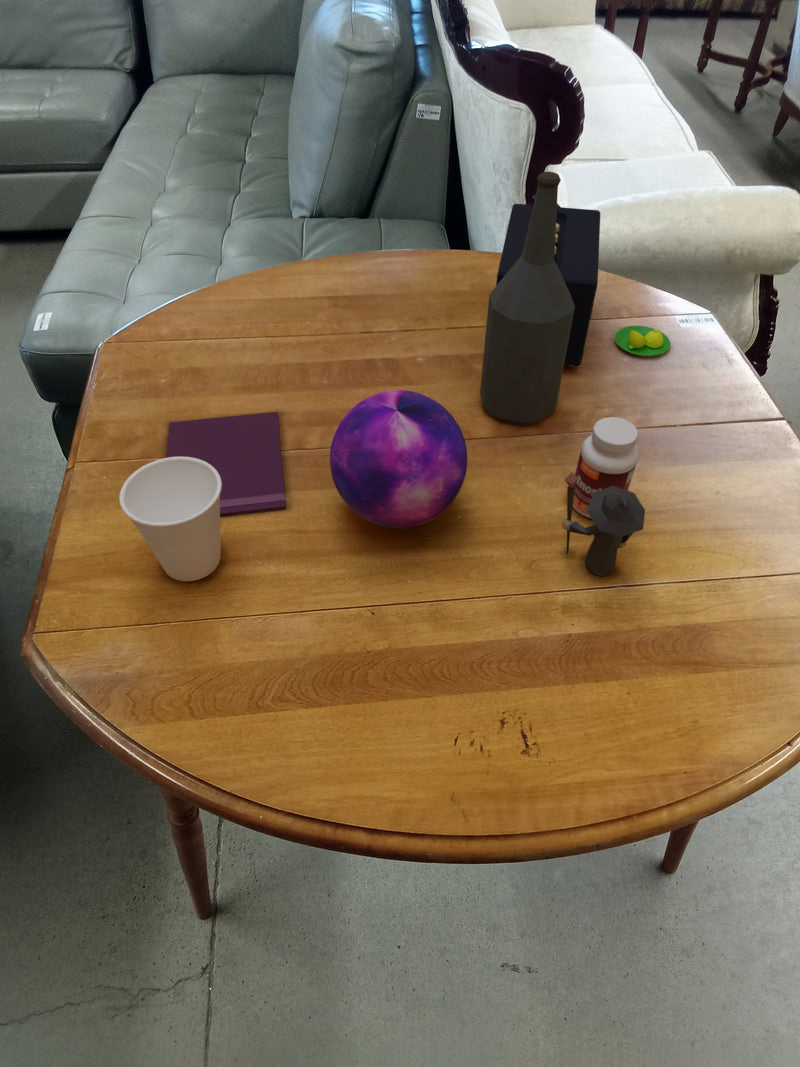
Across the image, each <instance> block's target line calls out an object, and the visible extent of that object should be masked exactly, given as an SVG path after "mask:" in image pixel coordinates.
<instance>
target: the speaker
mask: <svg viewBox="0 0 800 1067" xmlns="http://www.w3.org/2000/svg"><path fill="white" fill-rule="evenodd" d="M533 205H534V204H526V203H525V204H524V203H514V204H513V205H511V206H512V207H511V211H510V215H509V221H508V225H507V229H506V234H505V238H504V243H503V247H502V252H501V256H500V261H499V265H498V269H497V273H496V282H495V286H496V285H497V284H498V283H499V282H500V281H501V280H502V278H503V277H504V276H505V275H506V274H507V272H508V271H509V270H510V269H511V268H512V266H513V265H514V264H515V263H516V262H517V260H518V259H519V258H520V257H521V256H522V252H523V248H524V243H525V239H526V235H527V231H528V226H529V222H530V218H531V213H532V209H533ZM600 234H601V212H600V210H599V209H598V210H597V209H586V208H573V207H563V206H557V215H556V235H555V255H554V260H555V262H556V264H557V266H558V269H559V271H560V273H561V275H562V277H563V280H564V282H565V284H566V286H567V288H568V290H569V293H570V295H571V298H572V300H573V303H574V305H575V309H574V315H573V320H572V325H571V331H570V336H569V341H568V347H567V352H566V357H565V362H564V367H578V368H579V367H580V366H581V365H582V360H583V357H584V352H585V347H586V342H587V338H588V333H589V328H590V323H591V318H592V314H593V308H594V303H595V300H596V299H595V298H596V294H597V290H598V289H597V288H598V283H599V282H598V281H599V260H600V258H599V257H600Z"/></svg>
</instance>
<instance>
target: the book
mask: <svg viewBox="0 0 800 1067" xmlns="http://www.w3.org/2000/svg"><path fill="white" fill-rule="evenodd" d="M279 424H280V423H279V414H278V411H271V412H259V413H250V414H239V415H230V416H220V417H210V418H201V419H190V420H179V421H171V422H169V423H168V434H167V435H168V437H167V453H166V458H169V457H179V456H180V457H192V458H197V459H200V460H202V461H205V462H207V463H208V464H210V465H212V466H213V467H214V468H215V469H216V470H217V472H218V474H219V475H220V478H221V482H222V489H221V492H220V517H228V516H236V515H247V514H254V513H263V512H271V511H280V510H286V509H287V505H286V493H285V483H284V482H285V481H284V473H283V472H284V470H283V460H282V458H283V457H282V448H281V437H280V426H279Z"/></svg>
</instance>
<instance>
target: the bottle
mask: <svg viewBox="0 0 800 1067" xmlns="http://www.w3.org/2000/svg"><path fill="white" fill-rule="evenodd" d="M536 179H537V189H536V193H535V197H534V200H533V201H534V202H533V204H532V205H533V209H532V213H531V218H530V222H529V226H528V231H527V235H526V239H525V243H524V248H523V252H522V256H521V257H520V258H519V259H518V260H517V262H516V263H515V264H514V265H513V266H512V268H511V269H510V270H509V271H508V272H507V274H506V275H505V276H504V277H503V278H502V280H501V281H500V282H499V283H498V284H497V285H496V284H495V287H494V288H492V291H490V293H489V294H488V305H487V306H488V307H487V316H486V328H485V338H484V346H483V348H484V349H483V356H482V358H483V359H482V367H481V379H480V388H479V389H480V390H479V393H480V399H481V404H482V408H483V409H484V411H485V413H487V414H489V415H490V416H491V417H493V418H495V419H496V420H498V421H499V422H500V423H505V424H511V425H516V426H530V425H535V424H536V423H538V422H540V421H541V420H544V419H545V418H547V417H549V416H550V415H551V414H552V413H553V412H554V410H555V409H556V407H557V404H558V400H559V394H560V388H561V384H562V383H561V382H562V378H563V373H564V367H565V366H564V362H565V357H566V352H567V347H568V341H569V336H570V331H571V325H572V320H573V315H574V309H575V305H574V303H573V300H572V298H571V295H570V293H569V290H568V288H567V286H566V284H565V282H564V280H563V277H562V275H561V273H560V271H559V269H558V266H557V264H556V262H555V260H554V255H555V235H556V215H557V207H558V192H559V185H560V183H561V182H562V181H561V177H560V175H559V174H558V173H557V172H554V171H542V172H541V173H539V175H538V176H537V178H536Z"/></svg>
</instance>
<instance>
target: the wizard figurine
mask: <svg viewBox="0 0 800 1067" xmlns="http://www.w3.org/2000/svg"><path fill="white" fill-rule="evenodd" d="M578 479H579V478H578V477H577V476H576V475H575V473H574V472H573V471H571V472H570V473H568V475H567V476H566V477H565V478H564V482H565V483H566V484H567V487H566V488H567V490H566V491H567V492H566V493H567V494H566V495H567V497H566V498H567V500H566V501H567V502H566V505H567V506H566V519H564V520H563V521H562V522H561V526H562V529H564V530H565V531H566V549H565V550H566V555H568V554H569V550H570V541H571V540H570V538H571V533H573V534H579V535H582V536H583V535H584V536H587V537H590V536H593V539H592V541H591V544H590V545H589V547H588V549H587V551H586V554H585V560H584V563H585V565H586V567H587V569H588V570H589V572H590V573H593V574H595V575H598V576H600V577H605V576H607V575H609V574H612V573H614V571H615V566H616V561H617V556H618V550H621V549H622V548H625V547H626V545H627V542H628V540H629V539H630V538H631V537H632V536H633V534H634V533H636V532H639V531H643V530H644V525H645V513H646V509H645V508H644V506H643V505H642V503H641V501H640V500H639V498H638V497H637V495H636V493H635V492H632V491H629V490H628V491H627V490H624V489H621V488H618V487H615V486H611V487H608V488H605V489H603V490H600V491H597V492H595V493H593V495H592V498H591V501H590V504H589V507H588V509H587V512H588V514H589V515H590V517H591V518H592V519H591V518H590V519H591V520H592V521H593V523H594V524H592V525H588V526H586V527H585V526H583V525H582V524H580V523H579V522H578V521H576V520H574V521H573V520H572V516H573V509H574V507H573V499H574V490H575V486H574V485H575V483H576V482H577V480H578Z"/></svg>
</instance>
